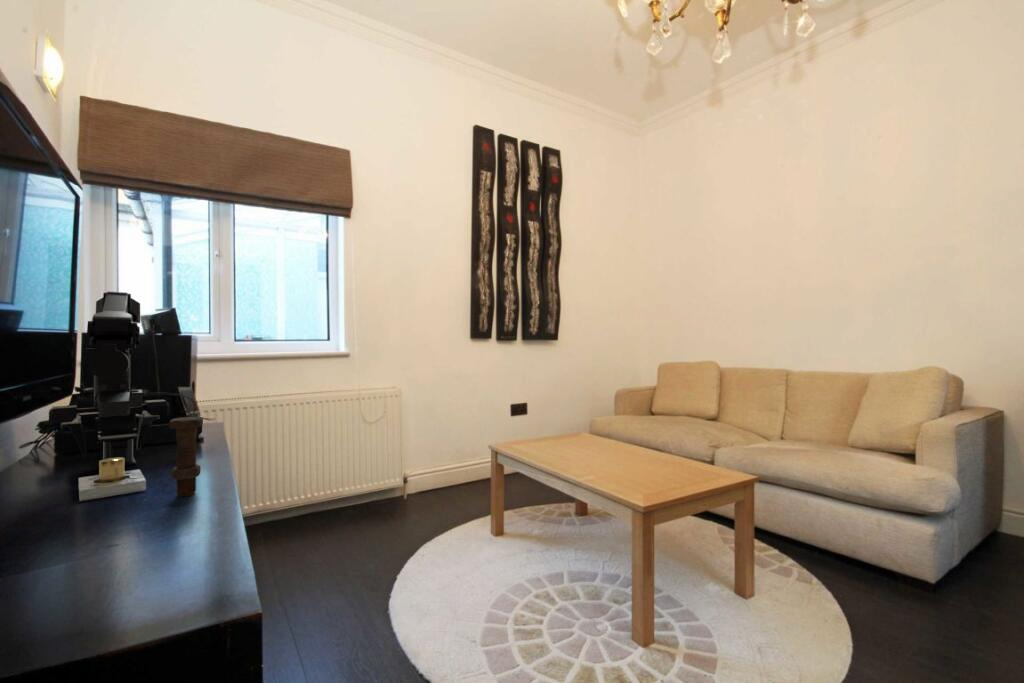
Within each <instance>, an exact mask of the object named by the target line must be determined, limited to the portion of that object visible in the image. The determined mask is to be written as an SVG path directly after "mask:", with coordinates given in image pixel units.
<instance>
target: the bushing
mask: <svg viewBox="0 0 1024 683" xmlns="http://www.w3.org/2000/svg"><path fill="white" fill-rule="evenodd" d="M125 466H126V465H125V458H109V459H104V460H103V459H101V460H99V462H98V467H99V468H98V471H99V472H98V475H99V483H109V482H116V481H121V480H124V479H125V471H126V470H125Z"/></svg>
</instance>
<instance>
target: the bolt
mask: <svg viewBox="0 0 1024 683" xmlns="http://www.w3.org/2000/svg"><path fill="white" fill-rule="evenodd" d="M203 425H204V419H203V417H201V416H185V417H175V418H171V419H170V421H169V427H168V428H169V429H175V436H176V466H175V467H173V468H172V470H171V478H172V479H174V480H176V495H177V496H178V497H183V496H184V497H188V496H192V495H193V494H195V493H196V491H197V484H196V483H197V479H196V478H197V477H199V476H200V474H201V465H199V464H197V457H196V456H197V452H196V451H197V434H198V428H199V427H201V426H203Z"/></svg>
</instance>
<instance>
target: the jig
mask: <svg viewBox="0 0 1024 683" xmlns="http://www.w3.org/2000/svg"><path fill="white" fill-rule="evenodd" d="M146 490H147V480H146V477H145V476H144V475H143V472H142V471H141V469H139V468H138V469H132V470H125V479H124V480H121V481H116V482H109V483H99V474H96V475H89V476H82V477H78V498H79V502H82V501H83V500H84V501H90V500H95V499H101V498H102V499H103V498H107V497H113V496H114V497H115V496H118V495H125V494H131V493H137V492H144V491H146ZM84 501H83V502H84Z"/></svg>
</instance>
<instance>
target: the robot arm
mask: <svg viewBox="0 0 1024 683" xmlns="http://www.w3.org/2000/svg"><path fill="white" fill-rule="evenodd" d="M138 324H141V303H140V302H138V301H137V300H136V299H134V298H132V293H128V292H127V291H126V292H125V291H124V292H123V291H106V292H103V296H102V298H100V299H98V300H96V301H95V313H94V314H92V319H91V320H88V321H87V327H86V337H85V338H86V340H85V349H86V350H87V349H91V350H92V349H93V350H95V354H93V355H92V356H91V358H90V360H89V363H88V366H89V370H90V371H91V373H92V374H93V392H94V393H93V407H83V408H78V406H77V404H74V405H58V406H52V407H51V408H50V409H49V410H48V424H50V425H51V424H60V427H61V428H68V429H69V430H70V432H71V433H72V435H73V436H74V438H75V440H76V442H77V445H78V448H79V450H80V452H81V455H82V456H83V457H86V456H87V446H86V440H85V435H84V430H83V425H82V419H81V418H89V417H90V418H91V417H95V419H94V420H95V421H94V432H95V433H94V434H95V437H94V440H95V441H94V442H95V443H96V444H98V443H103V448H102V454H103V456H102V460H104V459H109V458H125V466H131V465H136V464H137V461H136V460H135V457H134V440H136V450H137V451H140V450H141V447H142V444H143V441H144V439H145V437H146V434H147V432H148V429H149V428H150V426H151V425H152V423H153V422H154V421H155V420H159V419H160V417H161V416H163V415H164V416H165V415H170V412H171V410H170V409H171V408H170V405H171V404H170V403H169V402H168V401H167V400H165V399H151V400H144V401H143V390H142V389H131V354H130V349H136V348H137V346H140V338H141V337H140V334H141V332H140V330H141V328H140V326H139V325H138Z"/></svg>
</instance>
